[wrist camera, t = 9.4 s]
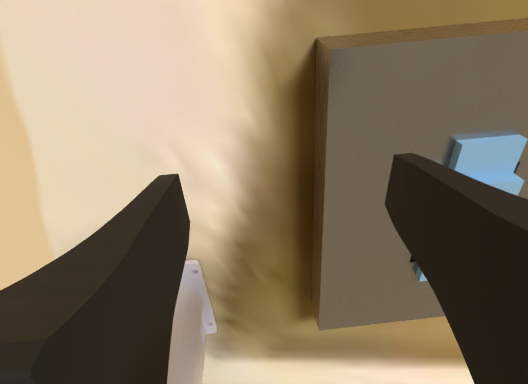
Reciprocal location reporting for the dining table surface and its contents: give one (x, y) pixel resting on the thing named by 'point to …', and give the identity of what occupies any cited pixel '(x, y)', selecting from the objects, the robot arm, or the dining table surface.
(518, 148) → the servo
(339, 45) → the chassis
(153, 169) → the dining table surface
